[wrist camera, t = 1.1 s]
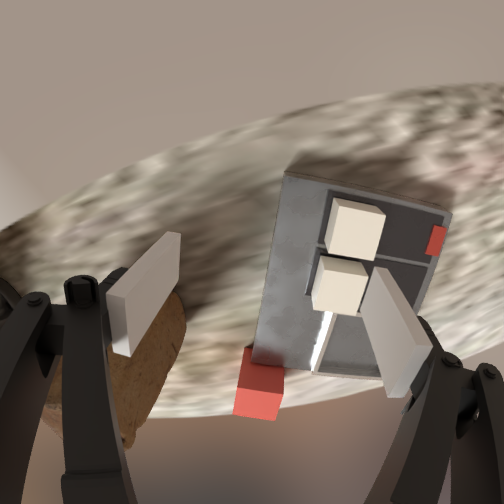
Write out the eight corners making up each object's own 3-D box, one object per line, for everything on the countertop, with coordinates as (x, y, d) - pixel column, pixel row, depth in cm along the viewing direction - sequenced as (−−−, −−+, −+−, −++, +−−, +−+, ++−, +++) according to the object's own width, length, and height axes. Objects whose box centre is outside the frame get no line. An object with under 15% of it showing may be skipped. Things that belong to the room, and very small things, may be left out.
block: (180, 274, 35) (96, 410, 16) (195, 329, 38) (139, 468, 19) (102, 280, 36) (3, 386, 18) (121, 330, 39) (46, 442, 21)
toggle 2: (311, 293, 30) (313, 309, 27) (320, 255, 29) (324, 269, 26) (350, 298, 30) (355, 315, 27) (361, 262, 29) (368, 276, 26)
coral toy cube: (239, 374, 40) (232, 414, 34) (244, 347, 38) (237, 387, 32) (277, 380, 40) (274, 420, 33) (284, 353, 38) (283, 394, 31)
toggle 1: (324, 240, 28) (328, 253, 25) (333, 197, 27) (339, 205, 24) (365, 247, 28) (373, 261, 25) (376, 206, 26) (386, 215, 24)
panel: (253, 345, 38) (249, 369, 34) (284, 171, 30) (284, 177, 26) (381, 361, 37) (388, 383, 33) (439, 205, 29) (458, 217, 25)
